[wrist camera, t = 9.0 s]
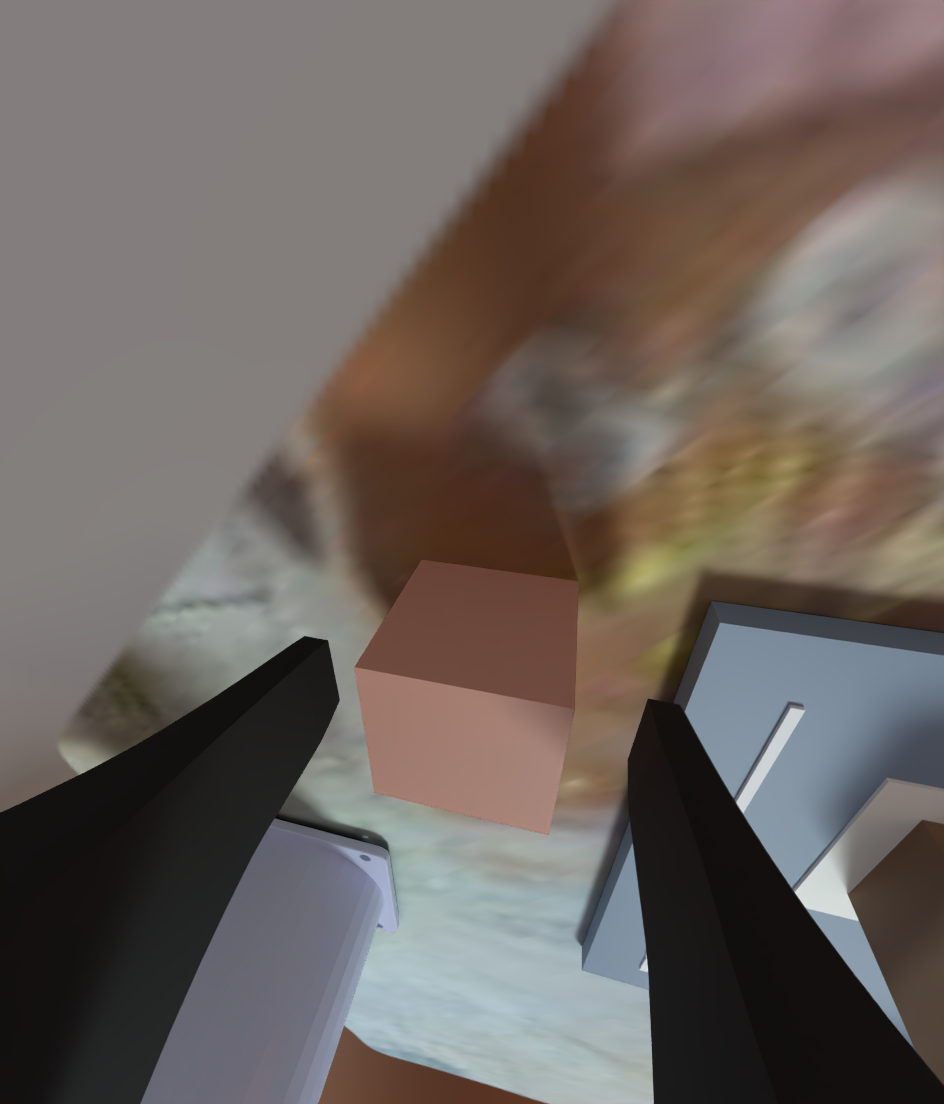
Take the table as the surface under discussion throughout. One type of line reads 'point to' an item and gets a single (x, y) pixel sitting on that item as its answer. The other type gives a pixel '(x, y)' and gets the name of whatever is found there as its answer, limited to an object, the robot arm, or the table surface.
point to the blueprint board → (804, 765)
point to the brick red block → (473, 692)
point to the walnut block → (910, 934)
